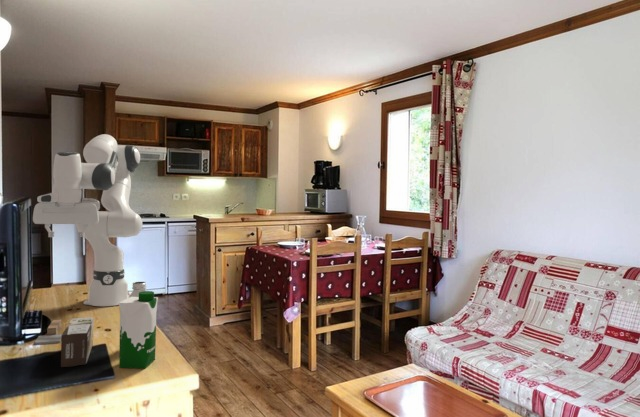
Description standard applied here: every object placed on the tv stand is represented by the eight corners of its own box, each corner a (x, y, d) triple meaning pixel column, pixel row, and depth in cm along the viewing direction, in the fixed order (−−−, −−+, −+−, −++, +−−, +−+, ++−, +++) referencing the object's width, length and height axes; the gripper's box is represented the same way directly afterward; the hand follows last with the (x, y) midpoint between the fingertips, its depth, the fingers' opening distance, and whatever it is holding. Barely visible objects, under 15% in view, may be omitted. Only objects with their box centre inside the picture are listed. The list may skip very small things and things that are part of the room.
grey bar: (45, 329, 154) (45, 320, 154) (68, 327, 156) (68, 319, 156) (34, 345, 138) (34, 335, 138) (60, 343, 141) (60, 333, 140)
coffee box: (70, 318, 136) (60, 333, 121) (94, 316, 138) (87, 331, 123) (70, 348, 136) (60, 367, 121) (93, 346, 138) (86, 365, 123)
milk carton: (146, 370, 121) (148, 296, 121) (113, 369, 121) (115, 295, 121) (159, 358, 130) (161, 289, 129) (128, 357, 130) (129, 288, 130)
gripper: (100, 198, 165) (100, 235, 165) (35, 196, 157) (35, 236, 158) (99, 198, 159) (98, 237, 159) (31, 196, 152) (31, 237, 152)
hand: (66, 236), depth 159 cm, fingers open, 8 cm apart
